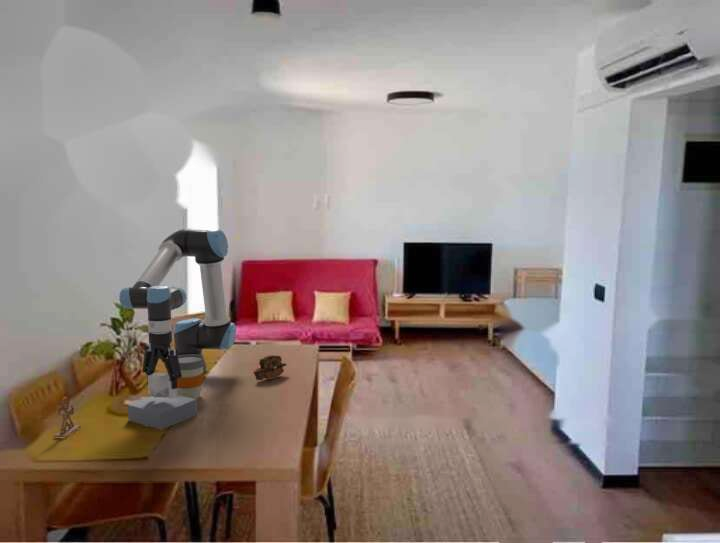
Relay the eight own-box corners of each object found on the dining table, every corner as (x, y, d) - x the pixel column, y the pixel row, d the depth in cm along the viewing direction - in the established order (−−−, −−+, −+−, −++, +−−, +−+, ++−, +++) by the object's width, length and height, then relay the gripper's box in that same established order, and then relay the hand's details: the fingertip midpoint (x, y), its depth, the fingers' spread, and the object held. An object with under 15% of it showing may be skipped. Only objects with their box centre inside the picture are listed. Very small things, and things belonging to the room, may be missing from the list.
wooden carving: (260, 384, 235) (259, 361, 234) (252, 382, 238) (252, 359, 237) (288, 375, 248) (288, 352, 247) (281, 373, 251) (280, 351, 250)
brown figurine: (69, 427, 189) (67, 392, 188) (80, 428, 189) (78, 393, 187) (53, 438, 180) (51, 401, 179) (65, 439, 180) (63, 402, 179)
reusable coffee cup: (211, 396, 220) (210, 358, 219) (182, 404, 211) (180, 365, 210) (194, 389, 229) (193, 352, 227) (165, 396, 220) (163, 358, 218)
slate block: (128, 421, 196) (127, 404, 195) (165, 407, 209) (165, 391, 209) (160, 431, 188) (160, 413, 187) (197, 415, 201) (196, 399, 201)
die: (160, 403, 192) (177, 379, 194) (139, 390, 193) (156, 365, 195) (167, 404, 200) (183, 380, 202) (147, 391, 201) (164, 367, 203)
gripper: (129, 330, 197) (132, 392, 200) (174, 337, 186) (176, 404, 189) (147, 326, 204) (149, 387, 206) (191, 333, 193) (193, 397, 195)
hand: (162, 395), depth 198 cm, fingers closed on die, 9 cm apart
